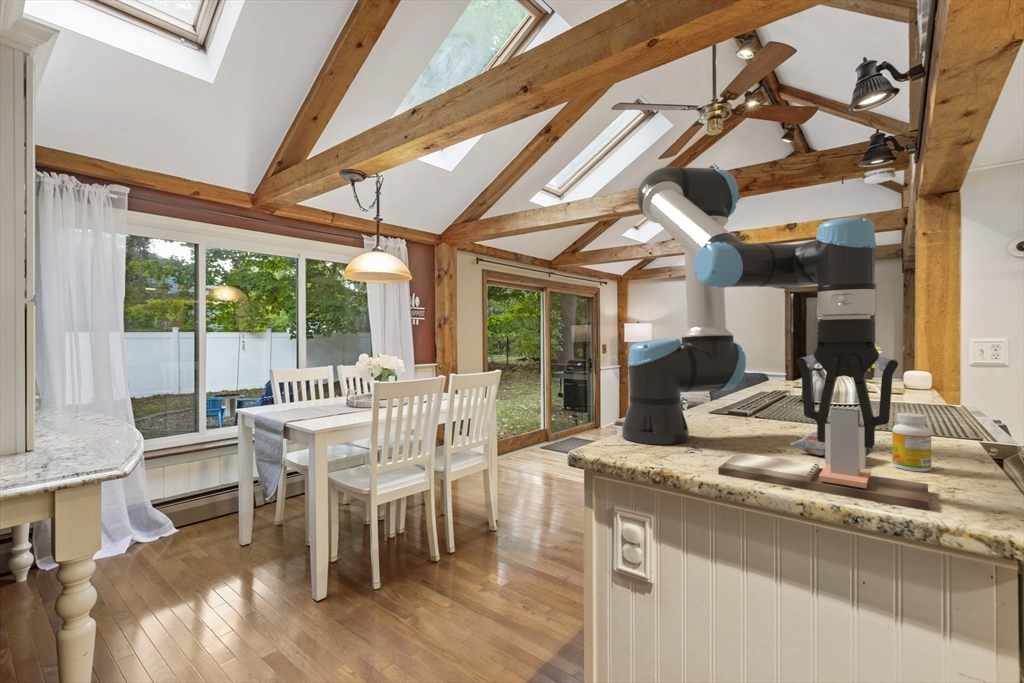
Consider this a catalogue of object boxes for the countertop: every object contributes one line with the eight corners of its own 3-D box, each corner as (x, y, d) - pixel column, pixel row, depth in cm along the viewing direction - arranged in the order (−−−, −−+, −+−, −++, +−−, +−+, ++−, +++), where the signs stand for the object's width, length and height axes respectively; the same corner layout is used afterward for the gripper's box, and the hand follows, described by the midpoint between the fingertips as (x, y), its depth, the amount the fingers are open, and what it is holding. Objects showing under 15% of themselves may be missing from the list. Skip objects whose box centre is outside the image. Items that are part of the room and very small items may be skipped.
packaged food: (850, 467, 88) (850, 440, 88) (789, 453, 98) (789, 429, 98) (878, 462, 91) (878, 436, 91) (816, 449, 102) (816, 426, 102)
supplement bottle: (890, 462, 90) (890, 411, 90) (927, 466, 87) (928, 413, 87) (894, 469, 86) (894, 415, 86) (934, 474, 83) (934, 417, 83)
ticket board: (718, 474, 84) (718, 462, 84) (734, 461, 92) (734, 450, 92) (929, 510, 66) (929, 495, 66) (927, 491, 74) (927, 477, 74)
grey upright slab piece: (818, 480, 75) (818, 412, 75) (826, 467, 82) (826, 404, 82) (866, 488, 71) (866, 416, 71) (870, 474, 78) (870, 408, 78)
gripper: (781, 319, 79) (781, 461, 79) (913, 316, 68) (913, 480, 68) (790, 319, 84) (790, 452, 85) (914, 316, 74) (913, 468, 74)
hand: (845, 464), depth 77 cm, fingers closed on grey upright slab piece, 4 cm apart
